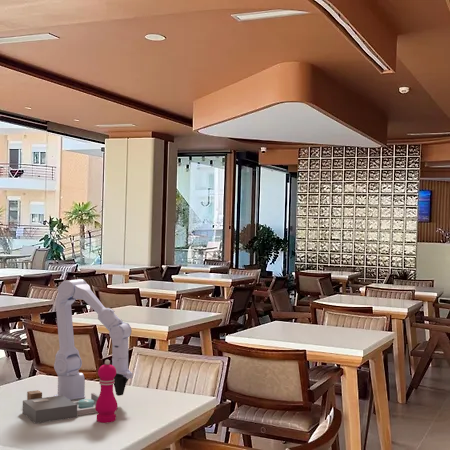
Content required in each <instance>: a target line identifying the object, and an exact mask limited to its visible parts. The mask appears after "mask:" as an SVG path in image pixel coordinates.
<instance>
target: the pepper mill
mask: <svg viewBox="0 0 450 450" xmlns="http://www.w3.org/2000/svg"><path fill="white" fill-rule="evenodd" d="M97 376H98V377H99V385H100V391H99V395H98V396H99V397H98V400H97V402H96V407H95V409H96V411H97V412H96V413H97V414H96V422H98V423H102V424H108V423H109V424H110V423H113V422H116V420H117V414H116V412H117V410H118V400H117V399H116V397H115V393H114V383H115V382H114V380H115V379H114V377H115V376H116V368H115V367H114V366H113V365H112V364H111V360H109V359H105V360H104V364H102V365H101V366H99V368H98V370H97Z"/></svg>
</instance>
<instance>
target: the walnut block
mask: <svg viewBox="0 0 450 450" xmlns="http://www.w3.org/2000/svg"><path fill="white" fill-rule="evenodd" d="M38 398H43V392H42V391H41V390H39V389H38V390H37V389H36V390H30V391H27V392H26V400H31V399H38Z"/></svg>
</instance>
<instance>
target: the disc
mask: <svg viewBox="0 0 450 450" xmlns="http://www.w3.org/2000/svg"><path fill="white" fill-rule="evenodd" d="M78 401H79V404H78V407H79V408H82V409H83V408H90V407H94V400H92V399H91V398H81V399H78Z"/></svg>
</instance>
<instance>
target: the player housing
mask: <svg viewBox="0 0 450 450" xmlns="http://www.w3.org/2000/svg"><path fill="white" fill-rule="evenodd" d="M74 402H75V401H73V400H69V399H68V398H66V397H64V396H63V395H61V396H54V395H53V396H49V397H42V398H38V399H31V400H27V399H25V400H22V414H23V415H24V416H26V418H28V419H29V420H31V421H32V422H33V423H34V424H40V423H41V424H42V423H49V422H55V421H61V420H67V419H68V418H69V419H74V418H77V417H78V415H77V404H75V403H74Z"/></svg>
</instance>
